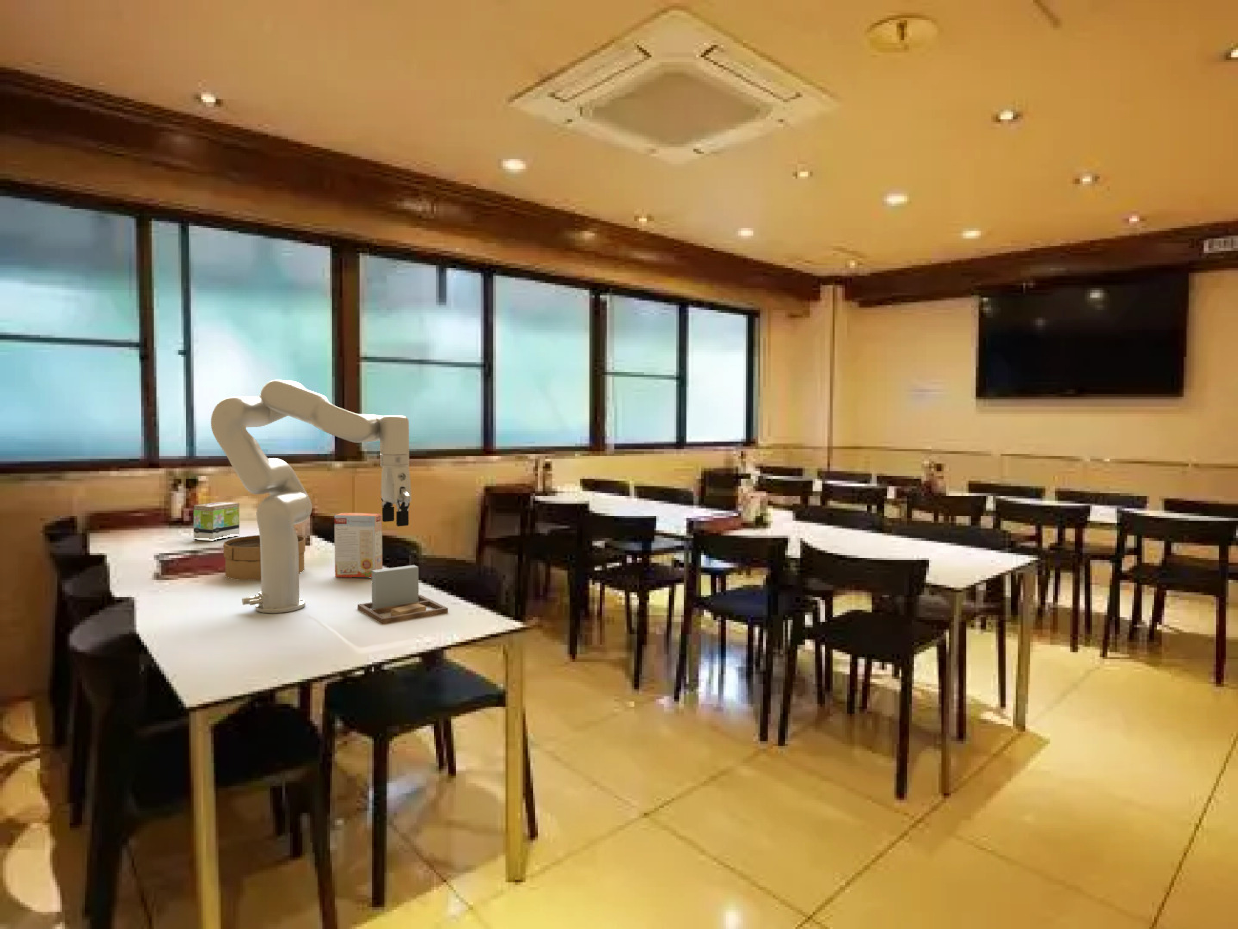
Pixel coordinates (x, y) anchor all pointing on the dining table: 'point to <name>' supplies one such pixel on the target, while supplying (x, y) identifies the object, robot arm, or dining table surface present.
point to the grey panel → (395, 586)
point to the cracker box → (357, 544)
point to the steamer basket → (250, 557)
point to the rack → (423, 601)
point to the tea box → (216, 520)
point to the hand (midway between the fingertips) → (395, 523)
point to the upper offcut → (408, 609)
